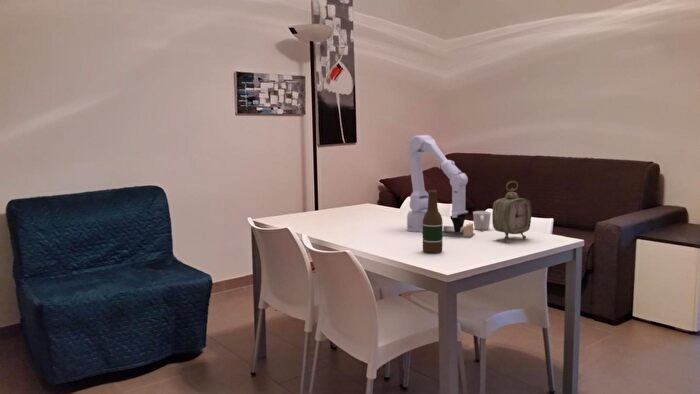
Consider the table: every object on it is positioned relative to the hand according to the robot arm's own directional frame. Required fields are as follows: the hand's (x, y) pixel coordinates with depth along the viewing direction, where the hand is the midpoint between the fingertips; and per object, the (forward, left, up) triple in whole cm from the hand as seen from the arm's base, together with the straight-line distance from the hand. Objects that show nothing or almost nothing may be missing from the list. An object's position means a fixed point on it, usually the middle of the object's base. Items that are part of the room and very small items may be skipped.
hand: (458, 231), depth 242 cm
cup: (+7, +16, -2) cm, 17 cm away
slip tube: (-1, 0, -2) cm, 2 cm away
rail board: (-3, 0, -2) cm, 4 cm away
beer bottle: (-1, -34, -2) cm, 34 cm away
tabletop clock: (+23, -2, -2) cm, 23 cm away
